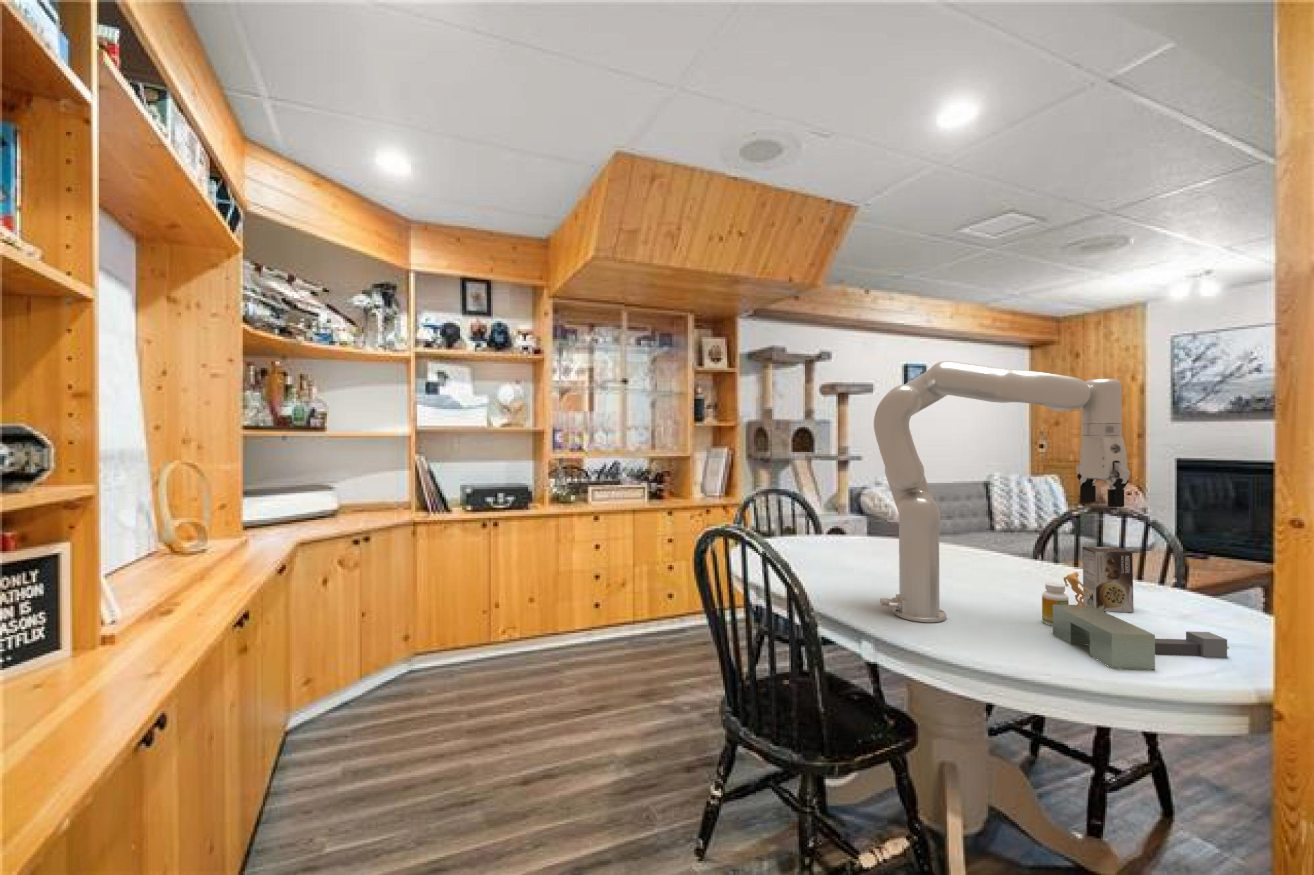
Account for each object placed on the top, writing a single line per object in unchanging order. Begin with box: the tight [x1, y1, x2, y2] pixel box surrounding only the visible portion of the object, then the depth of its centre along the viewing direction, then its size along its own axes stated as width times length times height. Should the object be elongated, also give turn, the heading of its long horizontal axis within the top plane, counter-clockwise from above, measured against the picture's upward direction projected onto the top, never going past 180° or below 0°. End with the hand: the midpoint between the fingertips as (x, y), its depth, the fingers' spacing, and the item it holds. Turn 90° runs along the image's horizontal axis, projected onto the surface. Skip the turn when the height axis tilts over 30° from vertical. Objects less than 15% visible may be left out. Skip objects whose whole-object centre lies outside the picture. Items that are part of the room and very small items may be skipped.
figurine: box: [1062, 571, 1091, 605], centre depth 145 cm, size 8×6×12 cm
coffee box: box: [1082, 546, 1135, 613], centre depth 154 cm, size 9×6×16 cm
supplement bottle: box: [1041, 582, 1070, 627], centre depth 142 cm, size 5×5×10 cm
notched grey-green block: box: [1052, 604, 1156, 670], centre depth 124 cm, size 8×20×7 cm, turn 174°
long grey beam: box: [1155, 631, 1230, 659], centre depth 123 cm, size 18×4×4 cm, turn 84°
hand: (1101, 504), depth 135 cm, fingers open, 9 cm apart
